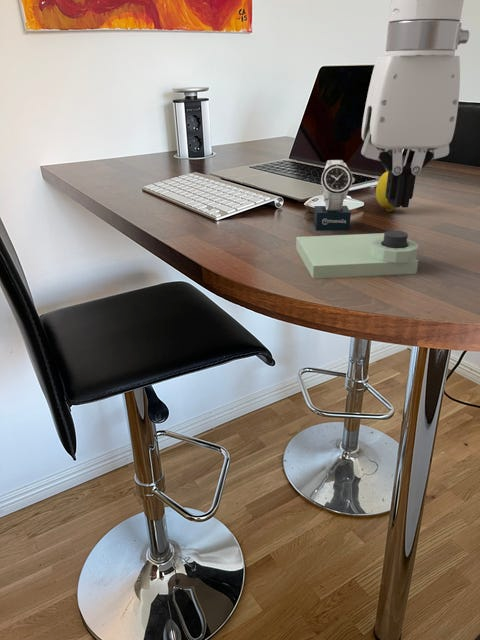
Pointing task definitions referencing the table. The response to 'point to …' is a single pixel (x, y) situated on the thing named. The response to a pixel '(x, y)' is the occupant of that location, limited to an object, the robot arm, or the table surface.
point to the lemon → (383, 193)
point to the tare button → (395, 239)
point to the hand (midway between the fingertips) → (397, 204)
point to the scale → (355, 256)
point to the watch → (334, 198)
